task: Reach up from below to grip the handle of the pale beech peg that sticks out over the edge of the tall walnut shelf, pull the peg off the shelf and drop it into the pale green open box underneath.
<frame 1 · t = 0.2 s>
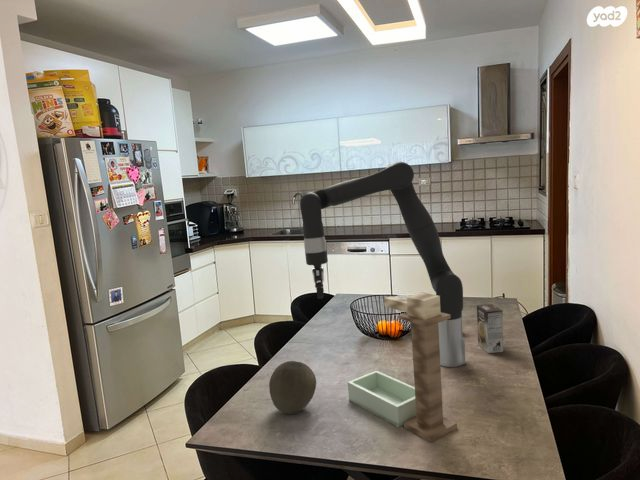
hand: (320, 295, 168), 29 cm above the table, tool pointing down, fingers open, 8 cm apart
cantaloupe: (294, 410, 147), on the table
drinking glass: (404, 330, 210), on the table
coffee box: (490, 348, 182), on the table
open box: (387, 405, 144), on the table
peg: (424, 314, 126), point 32 cm above the table, touching shelf stand
shelf stand: (430, 427, 131), on the table
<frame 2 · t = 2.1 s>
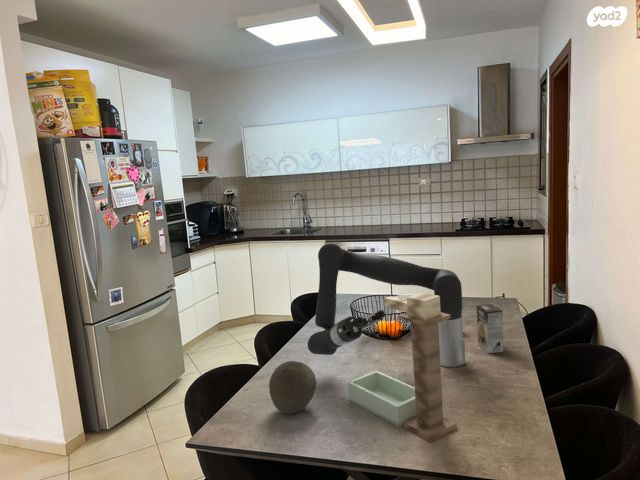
hand: (373, 316, 144), 27 cm above the table, tool pointing upward, fingers open, 8 cm apart
nothing on the table moved.
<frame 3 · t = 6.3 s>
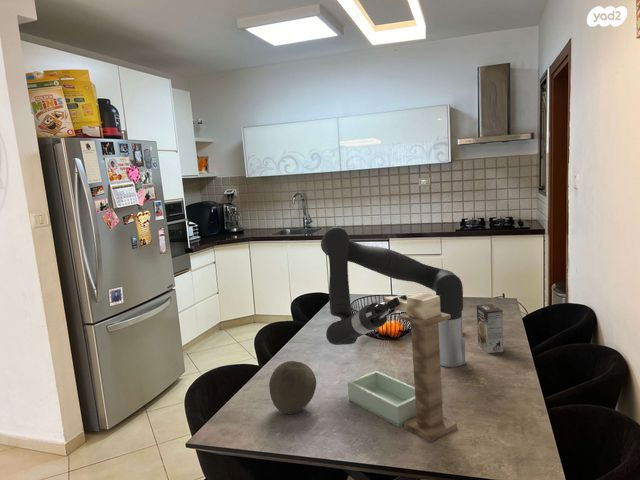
hand: (402, 299, 132), 35 cm above the table, tool pointing upward, fingers closed on peg, 2 cm apart
peg: (424, 314, 126), point 32 cm above the table, touching gripper, shelf stand
everything else where it was.
when the fingers open (26 cm above the table, at t = 11.8 s): peg drops 23 cm, resting on open box.
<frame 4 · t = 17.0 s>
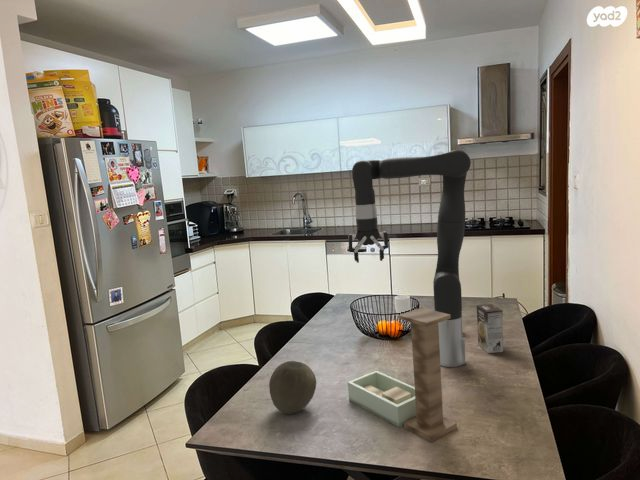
hand: (369, 261, 173), 38 cm above the table, tool pointing down, fingers open, 8 cm apart
peg: (397, 409, 140), point 1 cm above the table, touching open box
everything else where it was.
at the end: peg 4.9 cm from the open box (horizontally); peg point 1.0 cm above the table; the gripper is holding nothing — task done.
